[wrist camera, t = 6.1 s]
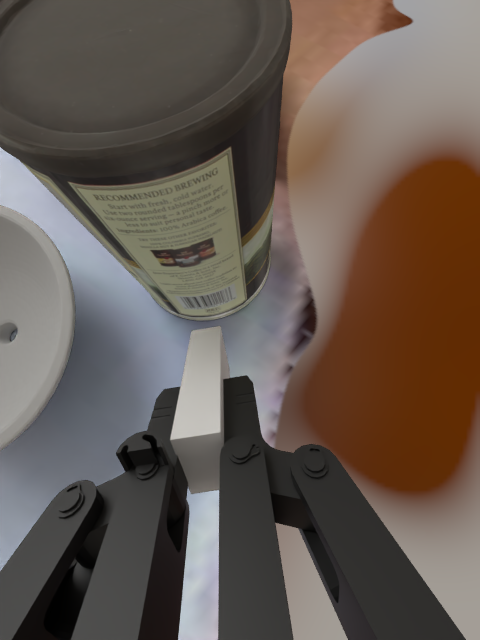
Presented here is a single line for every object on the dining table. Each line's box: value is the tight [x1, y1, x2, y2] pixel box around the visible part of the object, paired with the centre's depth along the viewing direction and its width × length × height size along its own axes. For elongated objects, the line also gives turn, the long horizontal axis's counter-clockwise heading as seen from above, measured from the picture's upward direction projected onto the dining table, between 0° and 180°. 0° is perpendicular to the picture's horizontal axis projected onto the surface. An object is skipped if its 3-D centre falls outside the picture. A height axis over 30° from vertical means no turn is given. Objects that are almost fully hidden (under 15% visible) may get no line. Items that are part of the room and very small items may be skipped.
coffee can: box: [0, 0, 292, 321], centre depth 15 cm, size 10×10×14 cm
